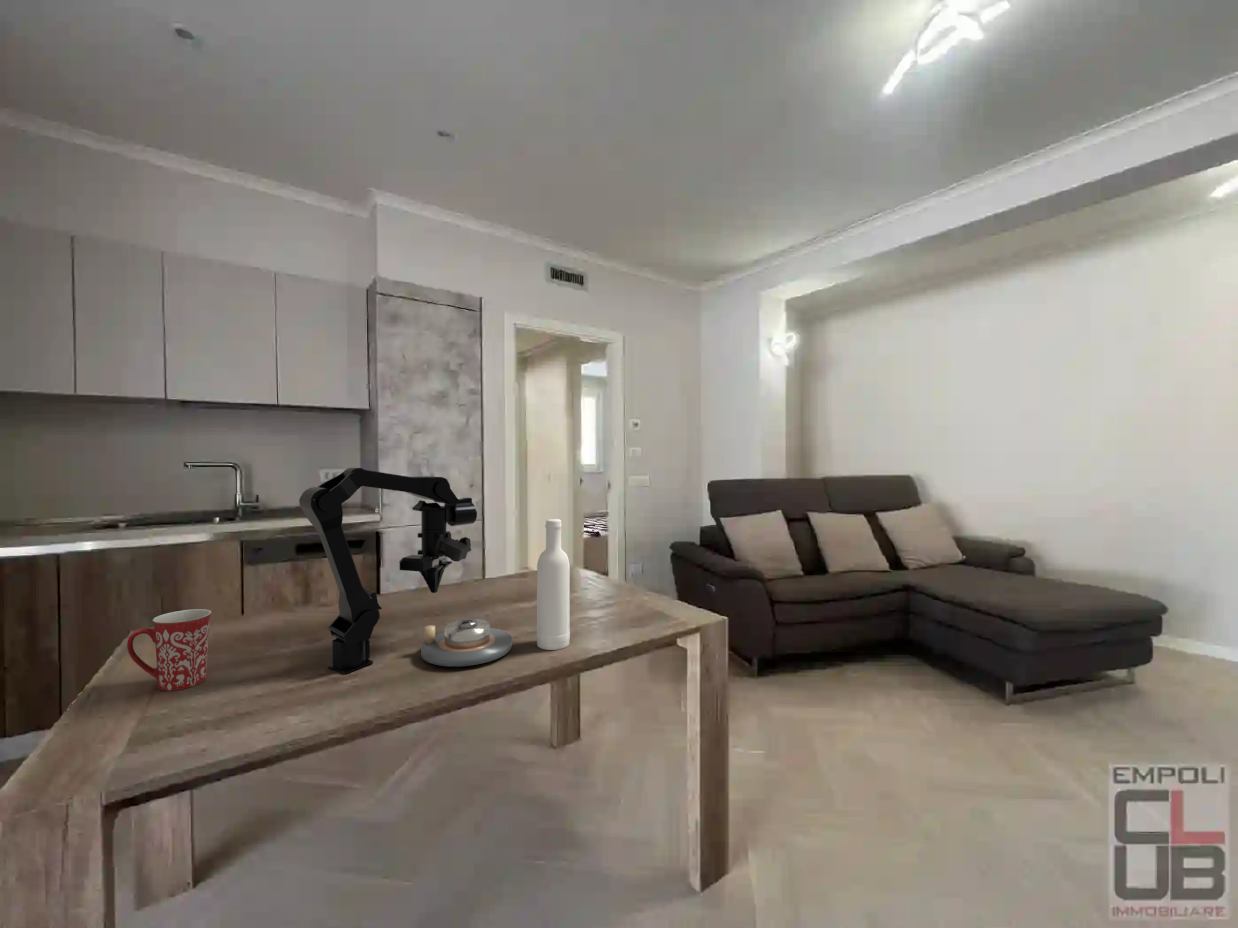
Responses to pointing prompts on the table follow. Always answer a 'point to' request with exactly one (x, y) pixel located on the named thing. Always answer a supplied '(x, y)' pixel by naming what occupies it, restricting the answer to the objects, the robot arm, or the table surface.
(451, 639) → the cover
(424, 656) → the turntable
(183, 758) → the table surface
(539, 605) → the bottle
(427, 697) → the table surface
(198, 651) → the mug
